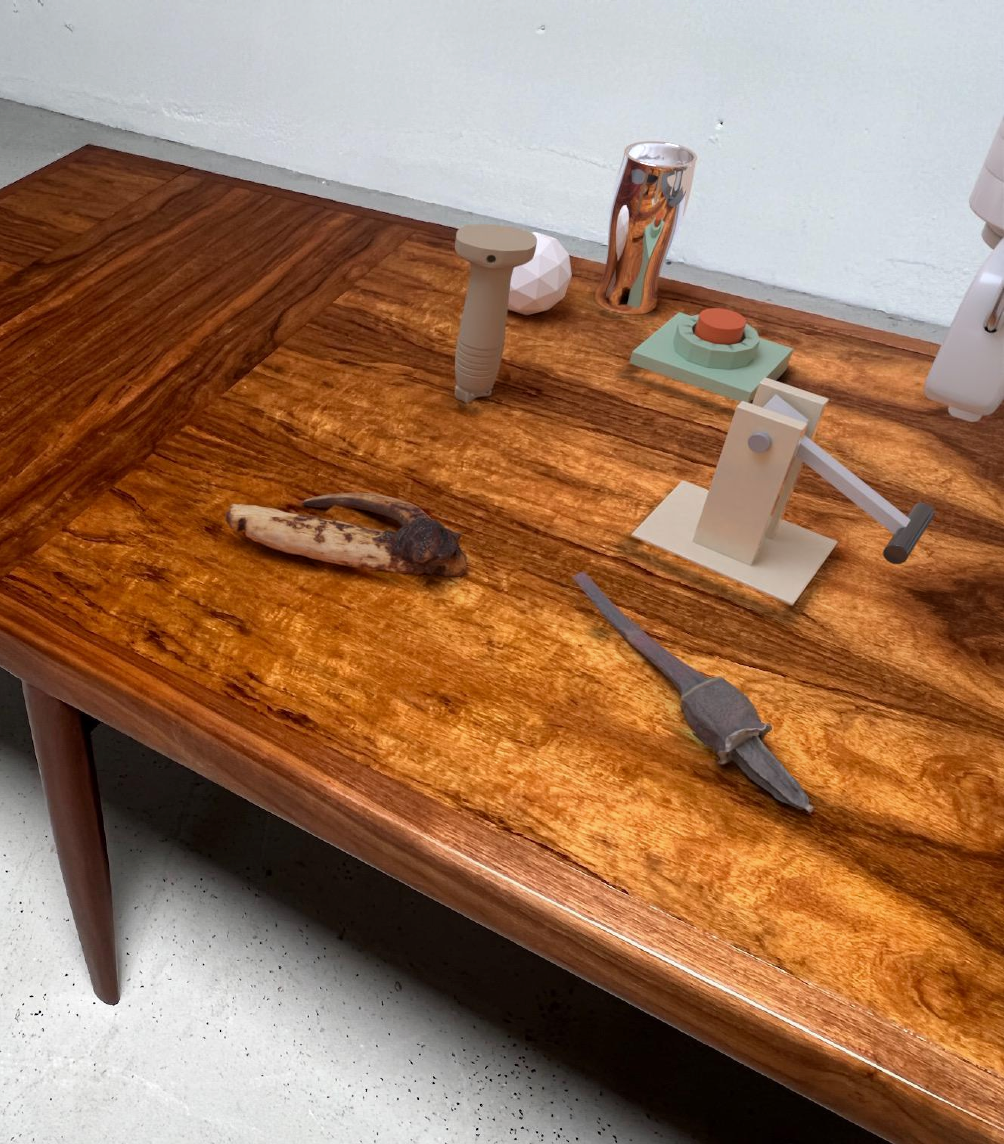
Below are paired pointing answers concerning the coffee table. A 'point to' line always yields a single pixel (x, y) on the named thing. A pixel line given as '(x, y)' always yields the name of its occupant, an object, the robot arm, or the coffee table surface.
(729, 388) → the button housing
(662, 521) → the lever stand
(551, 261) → the geometric ball
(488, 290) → the handle
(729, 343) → the button
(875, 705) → the coffee table surface
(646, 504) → the coffee table surface
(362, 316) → the coffee table surface
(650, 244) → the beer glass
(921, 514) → the tap lever
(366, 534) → the lashed bone hook
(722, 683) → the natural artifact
